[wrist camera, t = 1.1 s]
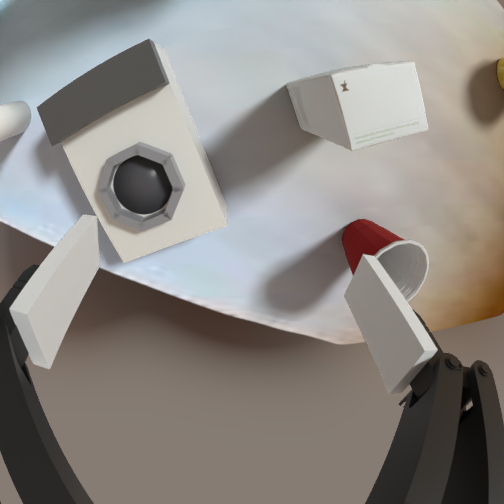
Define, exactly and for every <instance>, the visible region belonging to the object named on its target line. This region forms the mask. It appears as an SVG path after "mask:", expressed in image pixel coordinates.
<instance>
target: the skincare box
mask: <svg viewBox="0 0 504 504" xmlns="http://www.w3.org/2000/svg"><path fill="white" fill-rule="evenodd" d="M286 86H287V89H288V92H289V95H290V98H291V101H292V104H293V107H294V110H295V113H296V116H297V119H298V122H299V125H300V128H301V130H304V131H307V132H309V133H312V134H314V135H317V136H319V137H322V138H324V139H327V140H329V141H331V142H333V143H336V144H338V145H341V146H343V147H345V148H347V149H349V150H351V151H354V150H357V149H360V148H364V147H368V146H371V145H375V144H379V143H382V142H386V141H390V140H394V139H397V138H401V137H405V136H409V135H413V134H416V133H420V132H424V131H427V130H428V125H427V119H426V113H425V108H424V103H423V98H422V93H421V89H420V84H419V80H418V76H417V72H416V68H415V64H414V62H413V61H398V62H386V63H376V64H368V65H360V66H353V67H348V68H343V69H338V70H334V71H329V72H325V73H321V74H317V75H314V76H310V77H306V78H303V79H300V80H296V81H293V82H290V83H287V85H286Z"/></svg>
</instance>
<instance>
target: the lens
mask: <svg viewBox="0 0 504 504" xmlns="http://www.w3.org/2000/svg"><path fill="white" fill-rule="evenodd" d="M30 120H31V111H30V108H29V106H28V104H27V103H26V102H24V101H17V102H12V103H7V104H2V105H0V141H3V140H5V139H8V138H11V137H13V136H16V135H19V134H22V133H23V132H25V131H26V129H27V128H28V126H29V124H30Z"/></svg>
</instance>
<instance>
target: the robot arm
mask: <svg viewBox="0 0 504 504" xmlns="http://www.w3.org/2000/svg"><path fill="white" fill-rule="evenodd" d="M99 267H100V257H99V244H98V224H97V216H92V215H84V214H83V215H82V216H81V217H80V218H79V220H78V221H77V222H76V223H75V224H74V225H73V226H72V227H71V229H70V230H69V231H68V232H67V233H66V234H65V235H64V237H63V238H62V239H61V240H60V241H59V243H58V244H57V245H56V246H55V247H54V249H53V250H52V251H51V252H50V254H49V255H48V256H47V257H46V259H45V260H44V261H43V263H42V264H41V265H40V266H38V265H32V266H31V267H29V268H28V269H26V270H25V271H24V272H23V273H22V274H21V276H20V277H19V278H18V281H16V282H15V284H14V285H13V288H11V289H10V291H9V292H8V294H7V295H6V296H5V298H4V299H3V300H2V302H1V303H0V451H1V454H2V456H3V459H4V462H5V464H6V467H7V469H8V472H9V474H10V476H11V479H12V481H13V483H14V485H15V487H16V490H17V492H18V494H19V496H20V498H21V500H22V502H23V504H94V503H93V502H92V501H91V499H90V497H89V496H88V494H87V493H86V491H85V490H84V488H83V487H82V485H81V483H80V482H79V480H78V479H77V477H76V475H75V473H74V472H73V470H72V468H71V466H70V465H69V463H68V461H67V459H66V457H65V456H64V454H63V452H62V450H61V448H60V446H59V444H58V442H57V440H56V438H55V436H54V434H53V431H52V429H51V427H50V425H49V423H48V421H47V418H46V416H45V413H44V411H43V409H42V406H41V404H40V402H39V399H38V396H37V393H36V391H35V388H34V385H33V382H32V379H31V377H30V374H29V370H28V367H27V365H26V363H25V361H26V359H27V356H28V354H29V356H30V358H31V360H32V362H33V364H35V365H38V366H41V367H44V368H47V369H50V368H51V365H52V363H53V361H54V358H55V356H56V354H57V351H58V349H59V346H60V344H61V342H62V340H63V338H64V335H65V333H66V331H67V329H68V327H69V325H70V322H71V320H72V318H73V316H74V314H75V312H76V310H77V308H78V306H79V304H80V302H81V300H82V298H83V296H84V294H85V292H86V290H87V289H88V287H89V285H90V283H91V281H92V279H93V277H94V276H95V274H96V272H97V270H98V268H99ZM344 297H345V299H346V301H347V303H348V305H349V307H350V309H351V311H352V313H353V315H354V317H355V320H356V322H357V324H358V326H359V328H360V330H361V332H362V335H363V337H364V339H365V341H366V343H367V345H368V347H369V350H370V352H371V354H372V357H373V359H374V361H375V363H376V366H377V368H378V370H379V373H380V375H381V377H382V379H383V382H384V384H385V387H386V389H387V391H388V394H394V393H400V392H403V391H404V389H405V388H406V387H407V386H408V385H409V384H410V385H411V387H412V390H411V391H410V392H409V393H408V394H407V396H405V397H404V399H403V400H402V401H401V402H400V403H399V405H400V406H401V405H402V404H403V403H404V402H406V403H405V406H404V410H403V413H402V416H401V419H400V422H399V425H398V428H397V431H396V433H395V436H394V439H393V442H392V444H391V447H390V450H389V452H388V454H387V457H386V460H385V462H384V464H383V467H382V469H381V471H380V473H379V476H378V478H377V480H376V482H375V484H374V487H373V489H372V491H371V493H370V495H369V497H368V499H367V501H366V503H365V504H504V424H503V419H502V413H501V408H500V403H499V399H498V394H497V390H496V386H495V382H494V378H493V374H492V372H491V369H490V368H489V366H488V365H487V364H486V363H485V362H482V361H479V360H477V361H475V362H474V363H473V364H472V366H471V367H470V368H469V367H464V366H462V364H461V362H460V361H459V360H458V359H457V357H455V356H454V355H452V354H449V353H443V351H442V350H441V348H440V347H439V345H438V343H437V342H436V340H435V338H434V337H433V335H432V334H431V332H429V331H430V330H429V329H428V327H427V326H425V325H426V324H425V323H424V321H423V320H422V318H421V317H420V316H419V315H418V314H417V313H416V312H415V311H414V310H413V309H412V308H411V307H410V305H409V304H408V302H407V301H406V299H405V298H404V296H403V295H402V294H401V292H400V291H399V289H398V288H397V286H396V285H395V283H394V282H393V281H392V279H391V278H390V276H389V275H388V274H387V272H386V271H385V269H384V268H383V267H382V265H381V264H380V263H379V261H378V260H377V259H376V257H375V256H371V255H364V254H363V255H362V258H361V260H360V262H359V264H358V267H357V269H356V271H355V273H354V276H353V278H352V280H351V282H350V284H349V286H348V289H347V291H346V293H345V295H344ZM471 401H472V403H473V406H472V407H471V408H470V409H469V410H466V406H467V405H468V404H469V402H471ZM0 504H1V503H0Z"/></svg>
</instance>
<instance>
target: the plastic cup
mask: <svg viewBox="0 0 504 504" xmlns="http://www.w3.org/2000/svg"><path fill="white" fill-rule="evenodd" d="M342 242H343V243H342V244H343V246H344V249H345V252H346V253H345V254H346V257H347V260H348V263H349V265H350V268H351V271H352V274H353V276H354V273H355V271H356V269H357V267H358V264H359V262H360V260H361V258H362V255H363V254H364V255H371V256H375V257H376V259H377V260H378V261H379V263H380V264H381V265H382V267H383V268H384V269H385V271H386V272H387V274H388V275H389V276H390V278H391V279H392V281H393V282H394V283H395V285H396V286H397V288H398V289H399V291H400V292H401V294H402V295H403V296H404V298H405V299H406V301H407V302H409V301H410V300H411V299H412V298H413V297H414V296H415V295H416V294H417V292H418V291H419V289H420V288H421V286H422V284H423V283H424V281H425V279H426V275H427V272H428V268H429V259H428V253H427V251H426V250H425V248H424V247H423V245H422V244H420V243H417V242H414V241H412V240H409V239H408V240H404V239H402V238H400V237H398V236H397V235H395V234H393V233H392V232H390V231H388V230H386V229H385V228H383V227H381V226H379V225H377V224H375V223H374V222H372V221H369V220H366V219H359V220H356V221H354V222H352V223H351V224H350V225H349V226H347V227H346V229H345V231H344V233H343V238H342Z"/></svg>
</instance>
